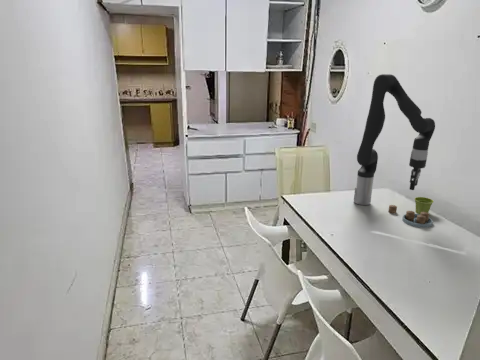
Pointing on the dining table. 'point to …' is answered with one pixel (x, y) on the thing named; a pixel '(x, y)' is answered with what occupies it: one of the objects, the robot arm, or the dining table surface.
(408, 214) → the brown rounded dome
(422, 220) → the seated bead
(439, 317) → the dining table surface
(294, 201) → the dining table surface
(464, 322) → the dining table surface
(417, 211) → the plant pot
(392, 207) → the pile bead
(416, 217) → the grey-blue shallow round dish
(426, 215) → the seated bead
